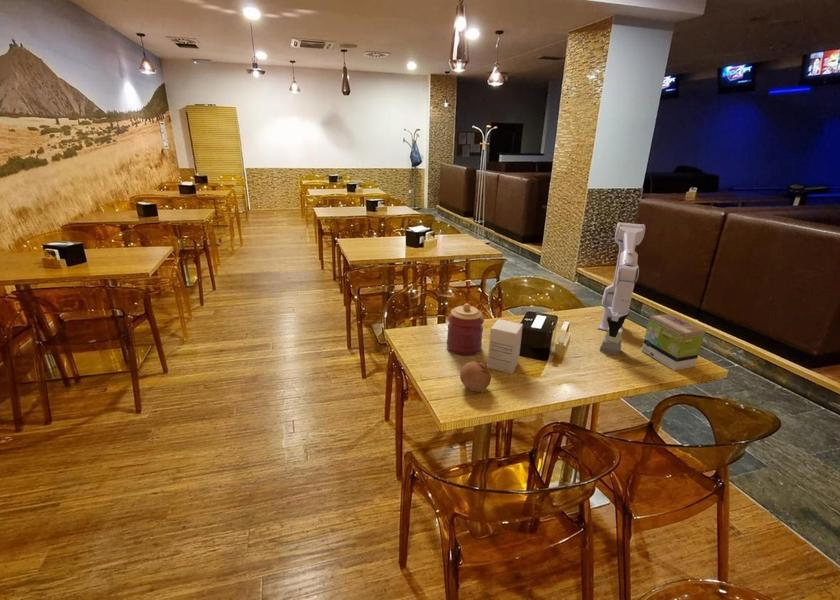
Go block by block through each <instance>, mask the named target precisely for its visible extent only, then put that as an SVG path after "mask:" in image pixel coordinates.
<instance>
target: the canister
mask: <svg viewBox="0 0 840 600" xmlns="http://www.w3.org/2000/svg"><path fill="white" fill-rule="evenodd" d="M447 320H448V323H447V336H446V337H447V338H446V348H447V350H448V351H449V352H451V353H453V354H455V355H457V356H459V355H460V356H474V355H477V354H479V353H480V351H481V349H482V346H483V342H482V339H483V332H484V327H483V324H484V321H485V319H484V317H483V313H482V310H479V309H478V308H477V307H475V306H473V305H471V304H469V303H464V304H463V305H458V306H456V307H454V308H452V309H451V310H450V314H449V315H448V317H447Z"/></svg>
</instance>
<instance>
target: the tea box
mask: <svg viewBox="0 0 840 600" xmlns="http://www.w3.org/2000/svg"><path fill="white" fill-rule="evenodd" d="M705 334H706V329H704V328H702V327H699V326H698V325H695V324H693V323H690V322H689V321H686V320H684V319H682V318H680V317H679V316H676V315H674V314H671V313H666V314H659V315H651V316H649V319H648V322H647V326H646V331H645V334H644V338H643V343H642V348H641V352H643V353H645V354H646V355H648V356H650V357H651V358H653V359H655V360H656V361H658V362H659V363H661V364H662V365H664V366H666V367H668V369H671V370H672V371H680V370H684V369H690V368H695V367H696V364H697V360H698V357H699V354H700V350H701V347H702V344H703V341H704V338H705Z"/></svg>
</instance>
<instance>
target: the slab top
mask: <svg viewBox="0 0 840 600" xmlns="http://www.w3.org/2000/svg"><path fill="white" fill-rule="evenodd" d="M605 338H606V335H605V334H604V335H603V340H602V343H601V345H602V347H603V348H607V349H612V350H616V351H619V352H620V351H621V349H620V346H621V347H622V338H621V340H620V341H619V343H618V344H617V343H614V342H610V341H606V340H605Z"/></svg>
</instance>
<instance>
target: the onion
mask: <svg viewBox="0 0 840 600" xmlns="http://www.w3.org/2000/svg"><path fill="white" fill-rule="evenodd" d="M459 377H460V381H461V383H462V384H463V386H464V387H465V389H466V390H468V391H470V392H473V393H474V394H476V393H481V392H482V391H484V390H485V389H487V388H488V387H489V385H490V383H491V380H492V373H491V371H490V368H487V365H486V364H485V363H483V362H479V361H473V360H471V361H468V362H466V363H465V364H464V365H463V366H462V367H461V370H460V373H459Z"/></svg>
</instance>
